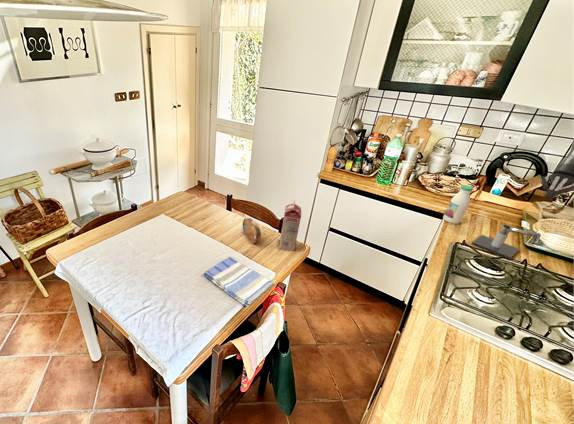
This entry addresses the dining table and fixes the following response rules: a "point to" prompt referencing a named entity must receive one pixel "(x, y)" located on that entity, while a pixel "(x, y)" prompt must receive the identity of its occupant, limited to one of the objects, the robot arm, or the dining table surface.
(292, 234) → the juice carton
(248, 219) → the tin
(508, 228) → the spout
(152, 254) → the dining table surface
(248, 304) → the dish towel
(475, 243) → the faucet base
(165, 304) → the dining table surface
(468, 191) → the milk bottle
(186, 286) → the dining table surface
